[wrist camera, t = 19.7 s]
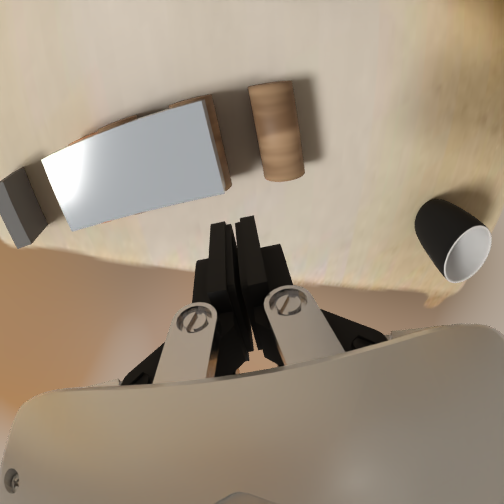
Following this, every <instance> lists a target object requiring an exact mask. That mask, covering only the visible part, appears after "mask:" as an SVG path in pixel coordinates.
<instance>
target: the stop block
mask: <svg viewBox="0 0 504 504" xmlns="http://www.w3.org/2000/svg"><path fill="white" fill-rule="evenodd" d="M0 215H1V217H2V219H3V221H4V223H5V225H6V227H7V229H8V231H9V233H10V235H11V237H12V239H13V241H14V243H15V245H16V247H17V248H18V249H19V248H21V247H24V246H27V245H30V244H32V243H33V242H34V240H35V239H36V238H37V237H38V236H39V234H40V233H41V232H42V231H43V230H44V229H45V228H46V226H47V225H48V224H47V222H46V219H45V217H44V215H43V213H42V211H41V208H40V206H39V204H38V202H37V199H36V197H35V195H34V192H33V190H32V187H31V185H30V182H29V180H28V177H27V175H26V172H25V169H24V167H23V168H21V169H19V170H17V171H15V172H14V173H12V174H10V175H9V176H7V177H6V178H4V179H3V180H1V181H0Z"/></svg>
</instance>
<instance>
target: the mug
mask: <svg viewBox="0 0 504 504" xmlns="http://www.w3.org/2000/svg"><path fill="white" fill-rule="evenodd" d="M415 231H416V234H417V237H418V239H419V241H420V243H421V244H422V246H423V248H424V249H425V251H426V252H427V254H428V255H429V257H430V258H431V260H432V261H433V263H434V264H435V266H436V267H437V268H438V270H439V271H440V272H441V273H442V275H443V276H444V277H445V278H446V279H447V280H448V281H449V282H452V283H459V282H462V281H465V280H467V279H468V278H470V277H471V276H473V275H474V274H475V273H476V272H477V271H478V270H479V269H480V268H481V266H482V265H483V263H484V262H485V260H486V258H487V256H488V254H489V251H490V248H491V240H492V239H491V233H490V231H489V229H488V228H487V227H486V226H485V225H484V224H483V223H482V222H480V221H479V220H478V219H476V218H475V217H474V216H472V215H471V214H469V213H468V212H466V211H465V210H463V209H461V208H460V207H458V206H456V205H454V204H452V203H450V202H447V201H444V200H439V199H435V200H431V201H429V202H427V203H425V204H424V205H423V206H422V207H421V208H420V210H419V211H418V213H417V216H416V219H415Z"/></svg>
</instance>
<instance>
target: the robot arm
mask: <svg viewBox="0 0 504 504" xmlns="http://www.w3.org/2000/svg"><path fill="white" fill-rule="evenodd" d="M235 227H236V239H237V245H236V241H235V237H234V233H233V229H232V225H231V224H228V225H226V223H225V222H220V223H215V224H211V228H210V244H209V258H208V259H203V260H198V261H197V262H196V269H195V279H194V289H193V300H192V304H189V305H187V306H185V307H183V308H182V309H180V310H179V311H178V312H177V313H176V314H175V316H174V318H173V319H172V322H171V325H170V329H169V332H168V335H167V338H166V341H165V342H164V343H163V344H162V345H161V346H160V347H159V348H158V349H156V350H155V351H154V352H153V353H152V354H150V355H149V356H148V357H147V358H146V359H145V360H144V361H142V362H141V363H140V364H139V365H138V366H137V367H135V368H134V369H133V370H132V371H131V372H129V373H128V375H127V376H126V377H125V378H124V380H123V381H120V380H119V379H115V380H112V381H108V382H104V383H100V384H96V385H92V386H88V387H80V388H66V389H58V390H53V391H49V392H45V393H42V394H40V395H38V396H35V397H33V398H31V399H30V400H28V401H27V402H25V403H24V404H23V405H22V406H21V407H20V409H19V410H18V412H17V414H16V416H15V419H14V421H13V424H12V426H11V429H10V432H9V435H8V438H7V442H6V446H5V450H4V454H3V458H2V463H1V468H0V504H504V335H503V334H502V333H501V332H499V331H498V330H496V329H494V328H492V327H490V326H486V325H480V324H454V325H442V326H434V327H426V328H418V329H408V330H398V331H391V334H390V335H383V334H382V333H381V332H379V331H377V330H375V329H372V328H369V327H367V326H364V325H361V324H359V323H356V322H353V321H351V320H348V319H345V318H343V317H340V316H337V315H335V314H332V313H330V312H327V311H324V310H322V309H320V308H319V307H318V305H317V303H316V302H315V300H314V298H313V297H312V295H311V294H310V293H309V291H307V290H306V289H305V288H303V287H300V286H296V285H293V283H292V280H291V277H290V273H289V270H288V267H287V264H286V260H285V257H284V254H283V251H282V247H281V245H280V244H277V245H272V246H267V247H262V248H260V243H259V239H258V234H257V229H256V224H255V219H254V216H249V217H244V218H240V222H238V223H235ZM251 326H252V330H253V333H254V337H255V340H256V343H257V347H258V350H262V349H263V353H264V357H265V358H267V359H269V360H271V361H273V362H275V363H276V364H277V367H276V368H271V369H266V370H260V371H254V372H248V373H242V374H240V371H239V367H240V366H241V365H242V364H243V363H244V362H245V361H249V353H248V352H251V351H253V350H254V349H253V339H252V332H251Z"/></svg>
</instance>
